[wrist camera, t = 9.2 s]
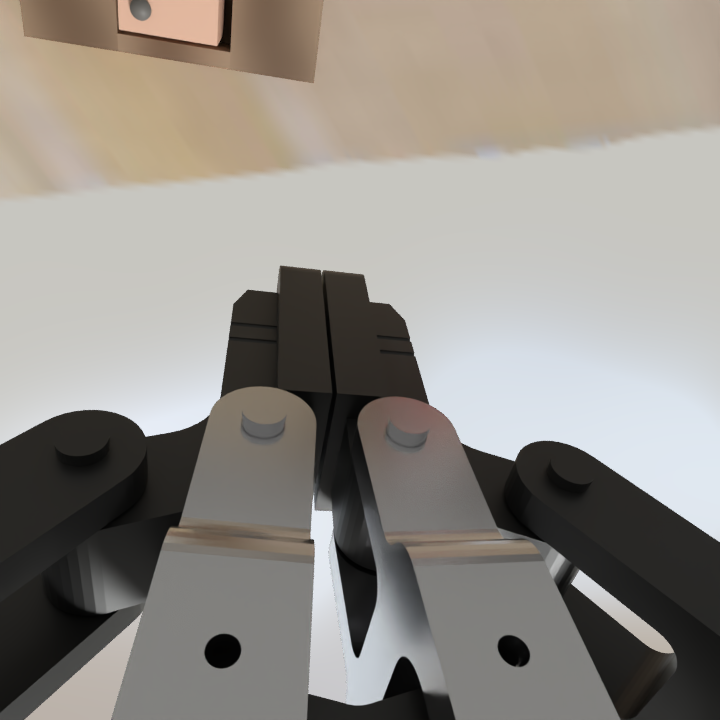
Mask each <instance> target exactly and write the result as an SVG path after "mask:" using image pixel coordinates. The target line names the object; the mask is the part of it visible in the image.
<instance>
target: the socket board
mask: <svg viewBox="0 0 720 720" xmlns="http://www.w3.org/2000/svg"><path fill="white" fill-rule="evenodd" d="M20 5H21V13H22V21H23V29H24V36H27V37H33V38H39V39H45V40H51V41H57V42H64V43H70V44H76V45H82V46H88V47H94V48H100V49H107V50H113V51H119V52H125V53H131V54H137V55H143V56H150V57H156V58H162V59H168V60H174V61H180V62H186V63H193V64H199V65H205V66H211V67H217V68H223V69H229V70H236V71H242V72H248V73H254V74H260V75H266V76H272V77H279V78H285V79H291V80H297V81H303V82H309V83H314V75H315V67H316V59H317V50H318V42H319V34H320V25H321V17H322V8H323V0H233V6H232V28H231V44H225V43H219V44H218V45H217V46H213V45H207V44H201V43H195V42H189V41H184V40H178V39H172V38H166V37H160V36H154V35H148V34H142V33H136V32H130V31H124V30H119V17H118V0H20Z"/></svg>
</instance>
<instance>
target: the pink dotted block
mask: <svg viewBox="0 0 720 720" xmlns="http://www.w3.org/2000/svg"><path fill="white" fill-rule="evenodd" d="M224 6H225V0H118V17H119V30H124V31H130V32H136V33H142V34H148V35H154V36H160V37H166V38H172V39H178V40H184V41H189V42H195V43H201V44H207V45H213V46H217V45H218V44H219V42H220V40H221V38H222V36H223V31H224Z"/></svg>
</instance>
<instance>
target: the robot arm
mask: <svg viewBox="0 0 720 720" xmlns="http://www.w3.org/2000/svg"><path fill="white" fill-rule="evenodd" d="M313 495H314V502H315V510H320V511H332V513H333V526H334V528H333V533H332V538H331V542H330V547H329V561H330V568H331V574H332V581H333V588H334V594H335V601H336V607H337V613H338V621H339V627H340V633H341V640H342V646H343V653H344V660H345V667H346V681H347V690H346V704H345V703H341V702H337V701H333V700H330V699H326V698H322V697H318V696H314V695H311V694H308V685H309V663H310V642H311V621H312V598H313V579H314V578H313V577H314V553H315V552H314V550H315V548H314V540H313V539H310V531H311V514H312V500H313ZM579 570H581V571H582V572H583V573H585V574H586V575H587V576H589V577H590V578H591V579H592V580H594V581H595V582H596V583H597V584H599V585H600V586H601V587H602V588H604V589H605V590H606V591H607V592H609V593H610V594H611V595H612V596H614V597H615V598H616V599H617V600H619V601H620V602H621V603H622V604H624V605H625V606H626V607H627V608H629V609H630V610H631V611H633V612H634V613H635V614H636V615H637V616H639V617H640V618H641V619H642V620H644V621H645V622H646V623H648V624H649V625H650V626H651V627H653V628H654V629H655V630H656V631H658V632H659V633H660V634H661V635H662V636H663V637H664V638H665V639H666V640H667V641H668V643H669V644H670V645H671V647H672V648H673V650H674V652H675V653H671V654H666V653H661V652H658V651H655V650H653V649H651V648H649V647H648V646H647V645H645V644H644V643H642V642H641V641H640V640H639V639H638V638H636V637H635V636H634V635H633V634H632V633H630V632H629V631H628V630H627V629H625V628H624V627H623V626H622V625H620V624H619V623H618V622H617V621H616V620H614V619H613V618H612V617H611V616H609V615H608V614H607V613H606V612H605V611H603V610H602V609H601V608H600V607H599V606H597V605H596V604H595V603H594V602H592V601H591V600H590V599H589V598H588V597H586V596H585V595H584V594H583V593H581V592H580V591H579V590H578V589H577V588H575V587H574V586H573V585H572V584H571V583H572V581H573V580H574V578H575V576H576V575H577V573H578V571H579ZM142 611H143V613H142V616H141V620H140V623H139V627H138V630H137V633H136V637H135V640H134V643H133V647H132V650H131V654H130V657H129V661H128V664H127V667H126V671H125V674H124V678H123V681H122V684H121V688H120V691H119V695H118V698H117V701H116V705H115V708H114V712H113V715H112V719H111V720H720V542H718V541H717V540H715V539H713V538H712V537H711V536H709V535H708V534H706V533H705V532H704V531H702V530H700V529H699V528H697V527H696V526H695V525H693V524H692V523H690V522H689V521H687V520H686V519H684V518H683V517H681V516H680V515H678V514H677V513H675V512H674V511H672V510H671V509H669V508H668V507H667V506H665V505H664V504H662V503H661V502H659V501H658V500H656V499H655V498H653V497H652V496H650V495H649V494H647V493H646V492H644V491H643V490H641V489H640V488H638V487H637V486H635V485H634V484H633V483H631V482H629V481H628V480H627V479H625V478H624V477H622V476H621V475H619V474H618V473H616V472H615V471H613V470H612V469H610V468H609V467H607V466H606V465H604V464H603V463H601V462H600V461H598V460H597V459H596V458H594V457H592V456H591V455H589V454H588V453H586V452H584V451H582V450H580V449H578V448H576V447H573V446H571V445H568V444H563V443H560V442H554V441H539V442H534V443H530V444H529V445H527V446H525V447H524V448H523V449H522V450H520V452H519V454H518V456H517V458H516V460H515V461H512V460H508V459H505V458H501V457H498V456H495V455H491V454H488V453H485V452H482V451H479V450H476V449H473V448H470V447H468V446H466V445H464V444H462V443H461V442H460V440H459V437H458V435H457V433H456V430H455V428H454V427H453V425H452V423H451V422H450V421H449V419H448V418H447V417H446V416H445V415H444V414H442V413H441V412H440V411H438V410H437V409H436V408H434V407H432V406H430V405H429V402H428V399H427V395H426V392H425V388H424V385H423V381H422V378H421V375H420V371H419V368H418V364H417V361H416V358H415V356H414V351H413V347H412V343H411V342H410V336H409V333H408V330H407V326H406V323H405V320H404V319H403V318H402V317H401V316H400V315H399V314H398V313H397V312H396V311H395V310H394V309H393V308H392V306H391V305H390V304H383V303H373V302H369V297H368V292H367V287H366V283H365V278H364V275H362V274H353V273H344V272H335V271H326V270H324V271H323V272H322V275H321V271H320V270H315V269H306V268H297V267H287V266H280V269H279V276H278V285H277V293H273V292H263V291H254V290H247V291H246V292H245V293H244V294H243V295H242V296H241V297H240V298H239V299H238V300H237V301H236V302H235V303H234V304H233V312H232V319H231V326H230V333H229V341H228V348H227V355H226V362H225V369H224V376H223V383H222V391H221V397H220V399H219V400H218V401H217V402H216V403H215V405H214V406H213V408H212V410H211V413H210V415H209V416H208V417H207V418H206V419H204V420H202V421H201V422H199V423H198V424H195V425H193V426H191V427H189V428H186V429H183V430H180V431H176V432H171V433H166V434H160V435H154V436H148V437H145V435H144V433H143V431H142V430H141V429H140V428H139V426H138V425H137V424H136V423H134V422H133V421H132V420H130V419H128V418H127V417H125V416H122V415H119V414H117V413H113V412H108V411H101V410H83V411H74V412H70V413H65V414H62V415H59V416H56V417H53V418H51V419H49V420H47V421H45V422H43V423H41V424H39V425H37V426H35V427H33V428H31V429H29V430H28V431H26V432H24V433H22V434H20V435H18V436H16V437H14V438H12V439H11V440H9V441H7V442H5V443H3V444H1V445H0V720H24V719H25V718H26V717H28V716H29V715H30V714H31V713H32V712H33V711H34V710H35V709H36V708H38V707H39V706H40V705H41V704H42V703H43V702H44V701H45V700H46V699H48V698H49V697H50V696H51V695H52V694H53V693H54V692H55V691H56V690H57V689H59V688H60V687H61V686H62V685H63V684H64V683H65V682H66V681H68V680H69V679H70V678H71V677H72V676H73V675H74V674H75V673H76V672H78V671H79V670H80V669H81V668H82V667H83V666H84V665H85V664H86V663H88V661H90V660H91V659H92V658H93V657H94V656H95V655H96V654H97V653H99V652H100V651H101V650H102V649H103V648H104V647H105V646H106V645H107V644H108V643H110V642H111V641H112V640H113V639H114V638H115V637H116V636H117V635H119V634H120V633H121V632H122V631H123V630H124V629H125V628H126V627H127V626H129V625H130V624H131V623H132V622H133V621H134V620H135V619H136V618H137V617H138V616H139V615H140V614H141V612H142Z"/></svg>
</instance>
